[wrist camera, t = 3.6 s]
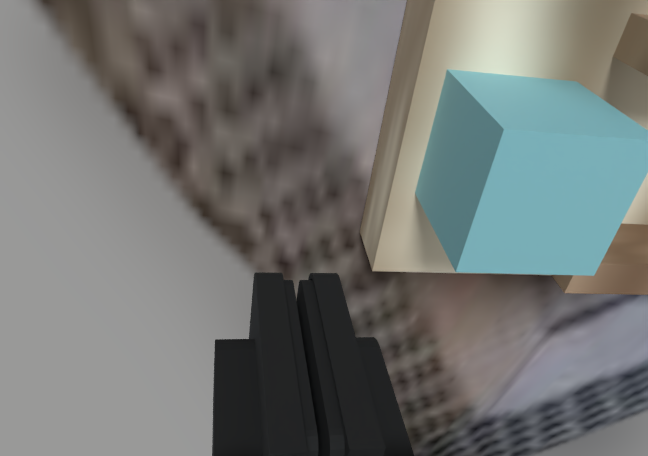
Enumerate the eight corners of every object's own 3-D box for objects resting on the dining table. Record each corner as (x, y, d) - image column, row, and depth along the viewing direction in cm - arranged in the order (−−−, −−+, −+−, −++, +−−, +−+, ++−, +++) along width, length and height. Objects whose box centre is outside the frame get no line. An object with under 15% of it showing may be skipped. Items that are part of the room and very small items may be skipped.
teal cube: (576, 81, 20) (664, 141, 16) (530, 198, 23) (594, 275, 19) (447, 68, 19) (503, 129, 15) (414, 193, 22) (455, 272, 18)
